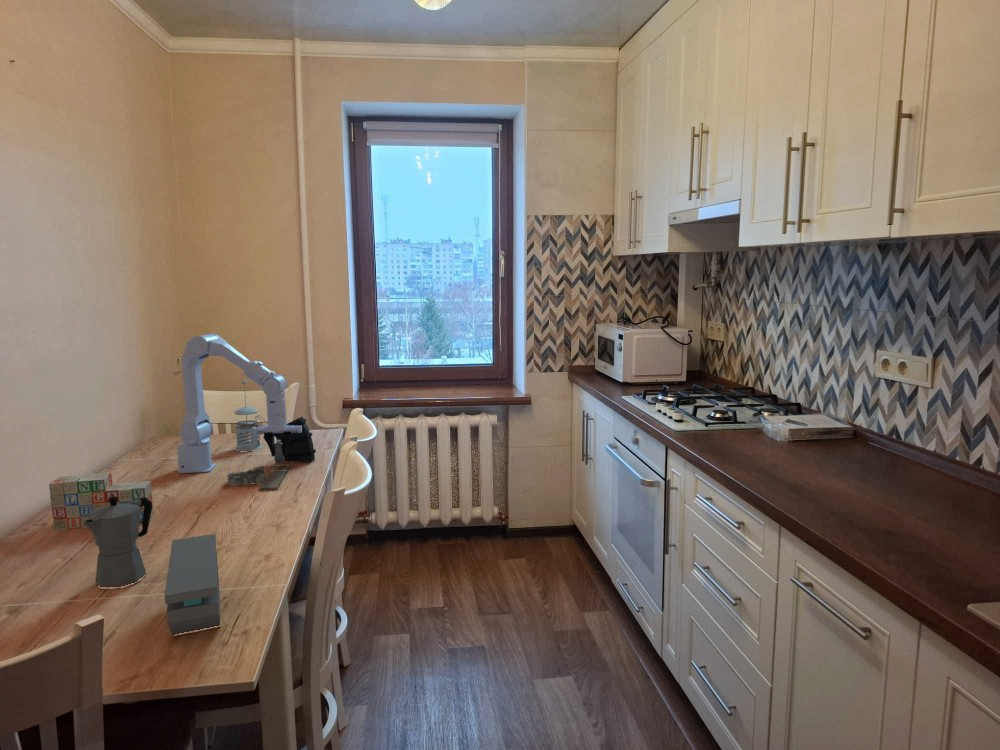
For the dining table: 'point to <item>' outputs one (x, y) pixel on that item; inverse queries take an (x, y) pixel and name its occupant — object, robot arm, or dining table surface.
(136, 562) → the coffeepot
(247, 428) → the french press
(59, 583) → the dining table surface
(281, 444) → the awl peg
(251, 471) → the egg carton
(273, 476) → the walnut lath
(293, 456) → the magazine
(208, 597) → the grey slotted box
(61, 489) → the stack of blocks
